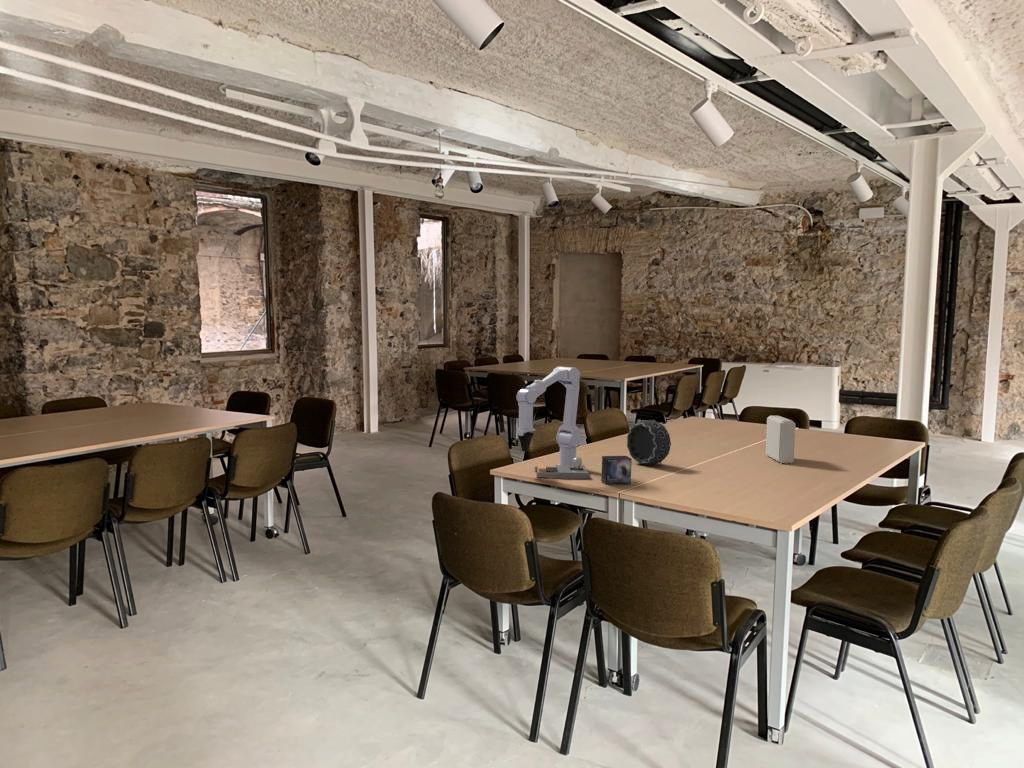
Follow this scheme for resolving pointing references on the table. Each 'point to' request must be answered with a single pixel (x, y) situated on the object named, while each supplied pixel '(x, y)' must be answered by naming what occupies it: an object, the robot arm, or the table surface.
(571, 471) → the grey flat plate
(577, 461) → the axle peg
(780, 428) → the grey upright block
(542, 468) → the latch bar
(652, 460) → the black toy wheel
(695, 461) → the table surface
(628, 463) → the small box
